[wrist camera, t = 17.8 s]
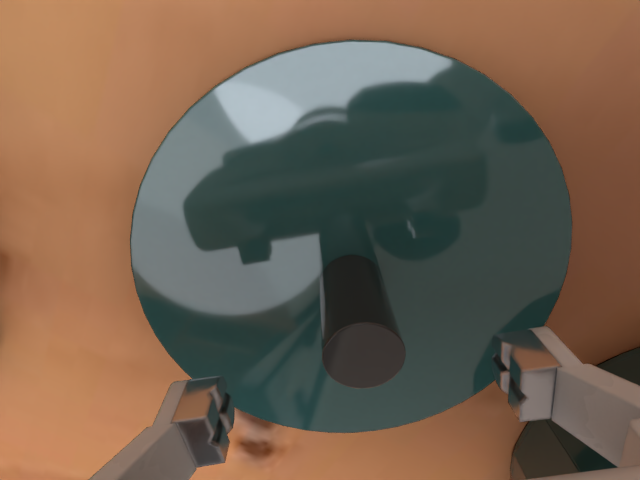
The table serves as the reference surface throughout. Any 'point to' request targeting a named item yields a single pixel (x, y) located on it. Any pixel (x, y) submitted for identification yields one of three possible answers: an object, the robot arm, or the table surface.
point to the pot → (565, 437)
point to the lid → (350, 234)
